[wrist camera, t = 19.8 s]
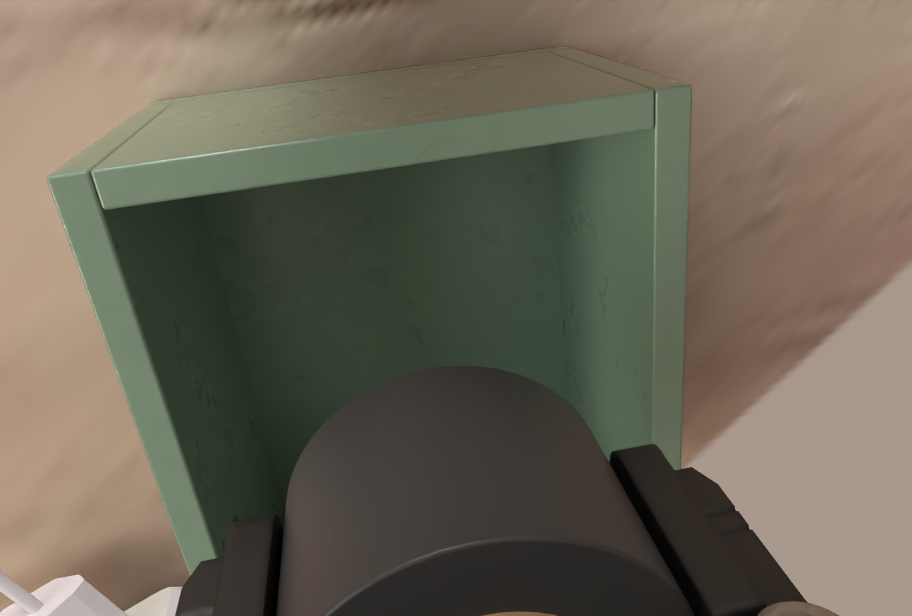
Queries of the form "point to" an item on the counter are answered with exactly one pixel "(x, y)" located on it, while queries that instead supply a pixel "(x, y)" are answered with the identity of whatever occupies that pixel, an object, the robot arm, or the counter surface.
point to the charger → (80, 600)
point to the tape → (465, 509)
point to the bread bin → (382, 258)
